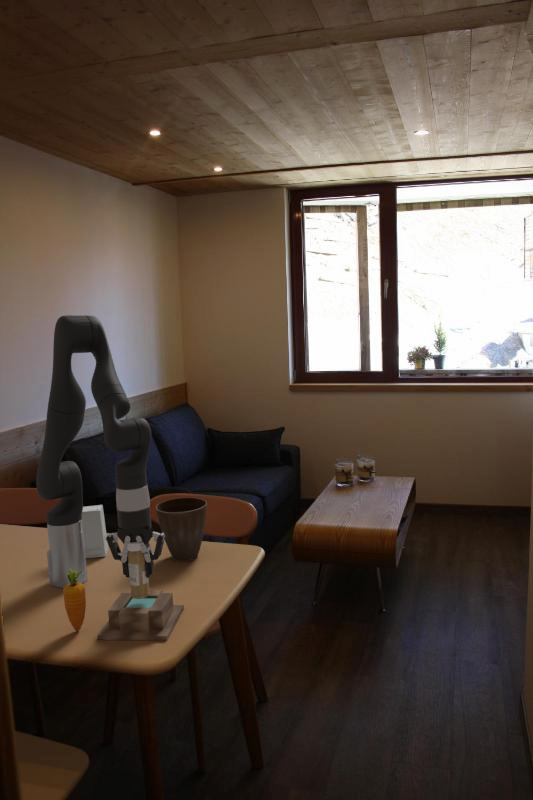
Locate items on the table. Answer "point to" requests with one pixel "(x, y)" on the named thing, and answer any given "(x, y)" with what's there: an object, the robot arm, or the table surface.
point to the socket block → (142, 618)
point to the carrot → (75, 600)
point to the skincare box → (94, 531)
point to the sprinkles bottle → (137, 572)
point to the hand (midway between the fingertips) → (138, 576)
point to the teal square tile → (141, 603)
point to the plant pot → (183, 526)
